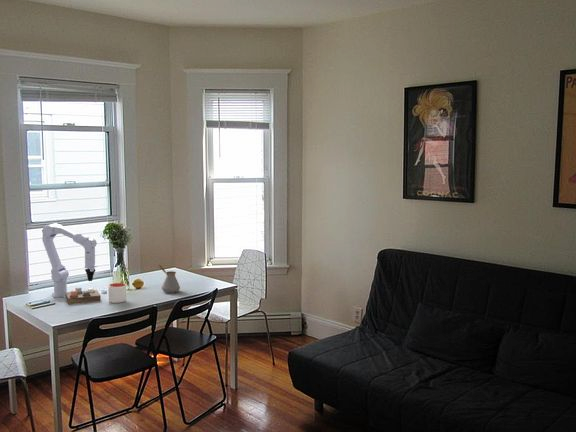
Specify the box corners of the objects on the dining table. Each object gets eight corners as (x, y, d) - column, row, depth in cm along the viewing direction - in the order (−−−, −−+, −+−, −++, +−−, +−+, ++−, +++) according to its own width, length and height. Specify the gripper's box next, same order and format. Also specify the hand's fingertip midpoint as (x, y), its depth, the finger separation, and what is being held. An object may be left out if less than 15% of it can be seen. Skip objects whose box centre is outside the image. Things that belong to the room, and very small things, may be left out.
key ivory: (87, 294, 337) (87, 288, 337) (93, 293, 339) (93, 287, 338) (88, 295, 334) (88, 289, 334) (94, 295, 336) (94, 289, 335)
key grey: (75, 293, 334) (75, 287, 333) (81, 292, 335) (81, 286, 335) (75, 294, 331) (75, 288, 330) (81, 294, 332) (81, 288, 332)
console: (65, 298, 333) (65, 292, 333) (96, 295, 342) (96, 289, 341) (68, 304, 321) (68, 298, 321) (100, 301, 329) (100, 295, 329)
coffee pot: (183, 292, 355) (183, 269, 353) (167, 295, 347) (167, 271, 345) (166, 285, 371) (166, 263, 369) (150, 288, 363) (151, 265, 361)
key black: (83, 297, 329) (82, 291, 329) (89, 297, 331) (88, 291, 331) (83, 299, 327) (83, 293, 326) (89, 298, 328) (89, 292, 328)
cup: (107, 303, 325) (107, 287, 324) (109, 299, 335) (109, 283, 333) (125, 303, 327) (125, 286, 326) (126, 298, 337) (126, 282, 335)
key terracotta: (70, 296, 326) (70, 290, 326) (76, 296, 328) (76, 290, 327) (71, 298, 323) (71, 292, 323) (77, 297, 325) (77, 291, 324)
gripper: (99, 260, 329) (99, 282, 331) (94, 256, 342) (95, 277, 343) (86, 261, 326) (86, 284, 327) (82, 256, 338) (83, 278, 340)
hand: (90, 280), depth 335 cm, fingers closed
